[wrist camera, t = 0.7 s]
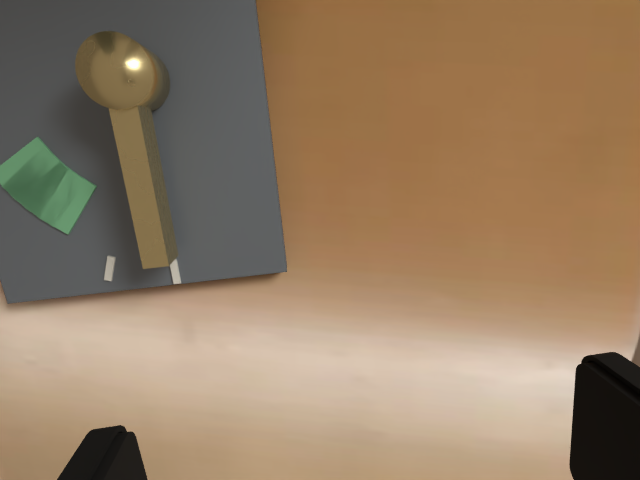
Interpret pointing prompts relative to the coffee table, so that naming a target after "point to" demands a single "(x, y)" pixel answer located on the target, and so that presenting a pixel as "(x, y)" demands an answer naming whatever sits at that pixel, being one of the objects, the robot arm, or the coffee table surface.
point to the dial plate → (103, 159)
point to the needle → (133, 131)
